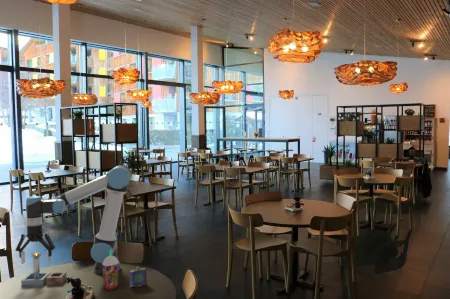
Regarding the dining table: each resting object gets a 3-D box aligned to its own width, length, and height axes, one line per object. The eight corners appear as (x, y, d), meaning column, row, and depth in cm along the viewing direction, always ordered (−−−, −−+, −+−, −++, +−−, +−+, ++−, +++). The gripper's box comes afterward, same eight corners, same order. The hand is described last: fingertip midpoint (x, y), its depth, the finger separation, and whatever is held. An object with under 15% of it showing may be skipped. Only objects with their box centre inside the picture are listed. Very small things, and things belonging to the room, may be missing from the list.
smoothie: (114, 291, 200) (113, 253, 199) (99, 290, 201) (99, 252, 200) (121, 285, 208) (121, 248, 207) (107, 284, 210) (107, 247, 209)
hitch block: (66, 278, 217) (66, 271, 217) (61, 284, 210) (61, 277, 209) (52, 279, 217) (51, 272, 217) (46, 284, 209) (46, 277, 209)
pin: (42, 279, 215) (42, 252, 214) (39, 282, 210) (39, 255, 210) (33, 279, 214) (33, 252, 214) (30, 282, 210) (30, 255, 209)
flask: (130, 288, 203) (130, 268, 203) (128, 287, 206) (128, 267, 205) (147, 285, 208) (146, 265, 207) (145, 283, 210) (145, 264, 210)
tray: (50, 278, 218) (50, 272, 218) (42, 286, 207) (42, 279, 207) (30, 279, 217) (30, 273, 217) (21, 286, 207) (21, 280, 206)
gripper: (7, 227, 206) (9, 265, 207) (55, 225, 208) (56, 264, 209) (14, 223, 214) (15, 261, 215) (60, 222, 216) (61, 259, 217)
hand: (36, 262), depth 212 cm, fingers open, 13 cm apart
